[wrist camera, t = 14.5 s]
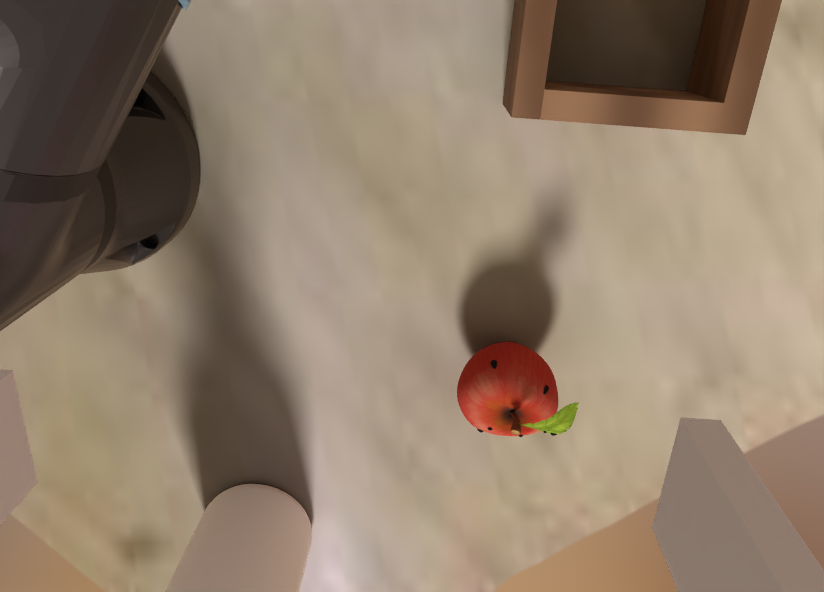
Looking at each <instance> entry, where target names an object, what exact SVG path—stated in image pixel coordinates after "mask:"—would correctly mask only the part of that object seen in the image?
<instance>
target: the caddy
mask: <svg viewBox="0 0 824 592" xmlns="http://www.w3.org/2000/svg"><path fill="white" fill-rule="evenodd" d="M781 2H782V0H707V3H706V7H705V12H704V16H703V20H702V25H701V29H700V34H699V38H698V42H697V47H696V51H695V56H694V60H693V64H692V69H691V73H690V78H689V82H688V86H687V91H676V90H662V89H649V88H635V87H622V86H609V85H595V84H582V83H568V82H555V81H546V75H547V68H548V61H549V54H550V47H551V40H552V33H553V26H554V19H555V12H556V5H557V0H515V5H514V14H513V22H512V30H511V39H510V47H509V56H508V64H507V72H506V81H505V89H504V97H503V105H504V107H505V108H506V110H507V111H508V113H509V114H510V116H511V117H515V118H529V119H542V120H555V121H568V122H581V123H595V124H608V125H621V126H634V127H648V128H661V129H674V130H687V131H700V132H714V133H727V134H740V135H746V131H747V128H748V124H749V120H750V117H751V113H752V109H753V106H754V102H755V98H756V94H757V91H758V87H759V83H760V80H761V76H762V72H763V68H764V65H765V61H766V57H767V54H768V50H769V46H770V42H771V39H772V35H773V31H774V28H775V24H776V20H777V16H778V13H779V9H780V5H781Z"/></svg>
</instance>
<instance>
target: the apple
mask: <svg viewBox="0 0 824 592" xmlns="http://www.w3.org/2000/svg"><path fill="white" fill-rule="evenodd" d="M457 398H458V403H459V406H460V409H461V411H462V413H463V414H464V416H465V417H466V419H467V420H468V421H469V422H470V423H471V424H472V425H473V426H474V427H476V428H477V429H478V431H479V432H483V431H485V432H488V433H491V434H495V435H503V436H519V437H522V436H523V435H529V434H533V433H537V432H540V431H543V432H544V433H550V434H551V435H553V436H554V435H557V434H560V433H563V432H565V431H567V429H569V428H570V427H571V425H572V423H573V421H574V418H575V415H576V412H577V409H578V408H577V405H578V403H573V404H569V405H567V406H565V407H564V408H563V409H561V410H560V411H558V412H557V408H558V392H557V386H556V381H555V378H554V375H553V373H552V371H551V369H550V367H549V366H548V364H547V363H546V362H545V361H544V359H543V358H542V357H541V356H539V355H538V354H537V353H536V352H534V351H533V350H531V349H529V348H527V347H525V346H523V345H520V344H518V343H515V342H510V341H509V342H500V343H495V344H491V345H489V346H486V347H484V348H483V349H481V350H480V351H478V352H477V353H476V354H475V355H474V356H473V357H472V358H471V359H470V360H469V361H468V363H467V364H466V366H465V367H464V369H463V371H462V373H461V376H460V379H459V382H458V387H457Z"/></svg>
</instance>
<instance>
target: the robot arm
mask: <svg viewBox="0 0 824 592" xmlns="http://www.w3.org/2000/svg"><path fill="white" fill-rule="evenodd" d="M190 2H191V0H0V331H1V330H3V329H4V328H5V327H7V326H8V325H9V324H11V323H12V322H14V321H15V320H16V319H18V318H19V317H21V316H22V315H23V314H25V313H26V312H27V311H29V310H30V309H32V308H33V307H34V306H36V305H37V304H39V303H40V302H41V301H43V300H44V299H46V298H47V297H48V296H50V295H51V294H52V293H54V292H55V291H57V290H58V289H59V288H61V287H62V286H64V285H65V284H66V283H68V282H69V281H71V280H72V279H73V278H75V277H76V276H77V275H79V274H85V273H94V272H102V271H111V270H117V269H121V268H125V267H128V266H131V265H134V264H136V263H139V262H141V261H143V260H145V259H147V258H149V257H150V256H152V255H153V254H155V253H156V252H157V251H159V250H160V249H161V248H162V247H164V246H165V245H166V244H167V243H169V242H170V241H171V240H172V239H173V238H174V237H175V236H176V235H177V234H178V233H179V232H180V231H181V229H182V228H183V227H184V225H185V224H186V222H187V221H188V219H189V217H190V215H191V213H192V211H193V208H194V206H195V203H196V199H197V196H198V191H199V183H200V162H199V155H198V149H197V145H196V141H195V138H194V135H193V132H192V129H191V127H190V124H189V122H188V120H187V118H186V116H185V114H184V112H183V110H182V109H181V107H180V105H179V104H178V102H177V101H176V99H175V98H174V96H173V95H172V94H171V92H170V91H169V90H168V89H167V88H166V86H165V85H164V84H163V83H162V82H161V81H160V80H159V79H158V78H157V77H156V76H155V75H154V74H153V73H152V72H151V71H150V70H151V68H152V66H153V64H154V62H155V60H156V58H157V56H158V54H159V52H160V50H161V48H162V46H163V44H164V42H165V40H166V38H167V36H168V34H169V32H170V30H171V28H172V26H173V24H174V22H175V20H176V18H177V16H178V14H179V12H180V10H181V8H184V9H187V8H188V6H189V4H190ZM36 483H37V478H36V473H35V469H34V464H33V460H32V455H31V451H30V446H29V442H28V437H27V433H26V428H25V424H24V419H23V415H22V410H21V406H20V402H19V397H18V393H17V388H16V384H15V379H14V375H13V371H10V370H0V525H1V524H2V522H3V521H4V520H5V519H6V518H7V517H8V516H9V514H10V513H11V512H12V511H13V510H14V509H15V508H16V506H17V505H18V504H19V503H20V502H21V501H22V500H23V498H24V497H25V496H26V495H27V494H28V493H29V491H30V490H31V489H32V488H33V487H34V486H35V485H36ZM652 529H653V531H654V533H655V536H656V538H657V541H658V543H659V546H660V548H661V551H662V553H663V555H664V558H665V560H666V563H667V565H668V568H669V570H670V573H671V575H672V577H673V580H674V582H675V585H676V587H677V590H678V592H824V570H823V569H822V567H821V566H820V565H819V563H818V562H817V560H816V559H815V557H814V556H813V554H812V553H811V551H810V550H809V549H808V547H807V546H806V544H805V543H804V541H803V540H802V538H801V537H800V535H799V534H798V533H797V531H796V529H795V528H794V527H793V525H792V524H791V522H790V521H789V519H788V518H787V516H786V515H785V514H784V512H783V510H782V509H781V508H780V506H779V505H778V503H777V502H776V500H775V499H774V497H773V496H772V494H771V493H770V492H769V490H768V489H767V487H766V486H765V484H764V483H763V481H762V480H761V478H760V477H759V475H758V474H757V473H756V471H755V470H754V468H753V467H752V465H751V464H750V463H749V461H748V459H747V458H746V456H745V455H744V454H743V452H742V451H741V449H740V448H739V446H738V445H737V443H736V442H735V440H734V439H733V437H732V436H731V435H730V433H729V432H728V430H727V429H726V427H725V426H724V424H723V423H722V421H721V420H709V419H695V418H681V419H680V423H679V427H678V430H677V434H676V438H675V442H674V446H673V449H672V453H671V457H670V461H669V465H668V469H667V472H666V476H665V480H664V484H663V488H662V492H661V495H660V499H659V503H658V507H657V511H656V514H655V519H654V522H653V526H652Z"/></svg>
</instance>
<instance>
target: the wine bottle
mask: <svg viewBox="0 0 824 592" xmlns="http://www.w3.org/2000/svg"><path fill="white" fill-rule="evenodd" d="M311 541H312V531H311V524H310V521H309V518H308V516H307V514H306V512H305V510H304V509H303V507H302V506H301V505H300V504H299V503H298V502H297V501H296V500H295V499H294V498H293V497H292V496H290V495H289V494H287V493H285V492H284V491H281V490H279V489H277V488H274V487H271V486H268V485H262V484H244V485H238V486H235V487H231V488H229V489H227V490H225V491H223V492H222V493H220V494H219V495H218V496H216V497H215V498H214V499H213V500H212V502H211V503H210V504H209V505H208V506H207V508H206V510H205V511H204V513H203V515H202V517H201V520H200V522H199V524H198V526H197V528H196V530H195V532H194V534H193V536H192V538H191V540H190V542H189V544H188V546H187V548H186V550H185V552H184V554H183V557H182V559H181V561H180V563H179V565H178V567H177V569H176V571H175V573H174V575H173V577H172V579H171V581H170V583H169V585H168V587H167V589H166V591H165V592H299V590H300V586H301V582H302V578H303V574H304V570H305V566H306V562H307V558H308V555H309V551H310V547H311Z"/></svg>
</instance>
